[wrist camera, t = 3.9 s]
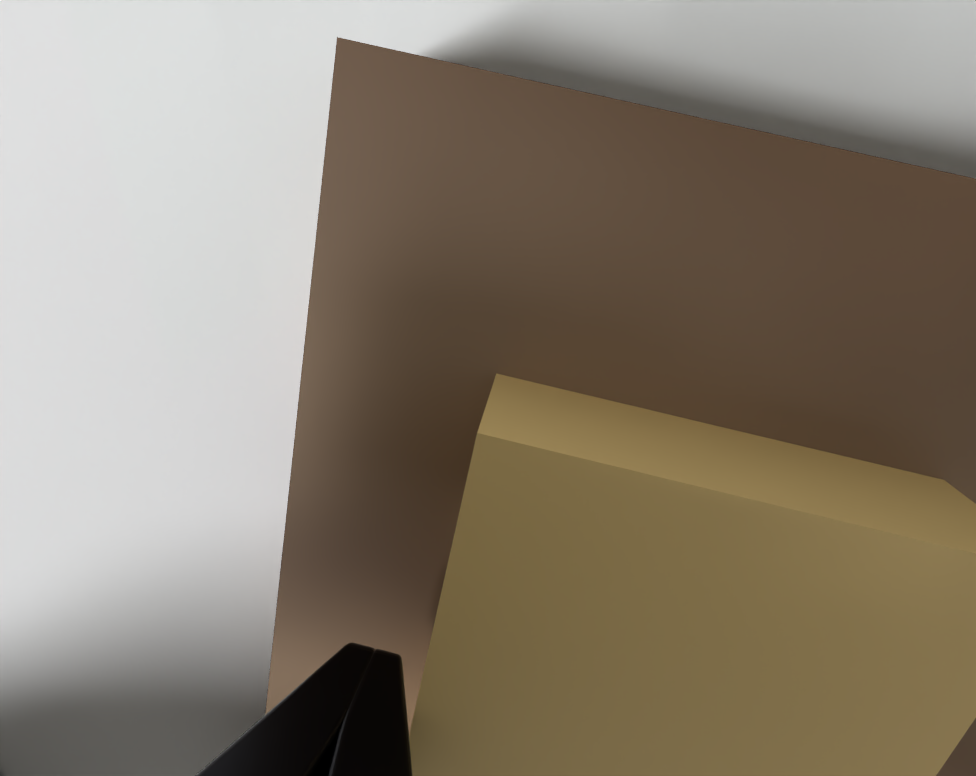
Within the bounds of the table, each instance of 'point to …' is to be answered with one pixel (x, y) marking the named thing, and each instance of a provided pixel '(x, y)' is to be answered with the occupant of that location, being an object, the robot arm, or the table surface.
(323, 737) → the robot arm
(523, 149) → the brown slab
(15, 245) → the table surface
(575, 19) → the table surface
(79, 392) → the table surface
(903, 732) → the tile
